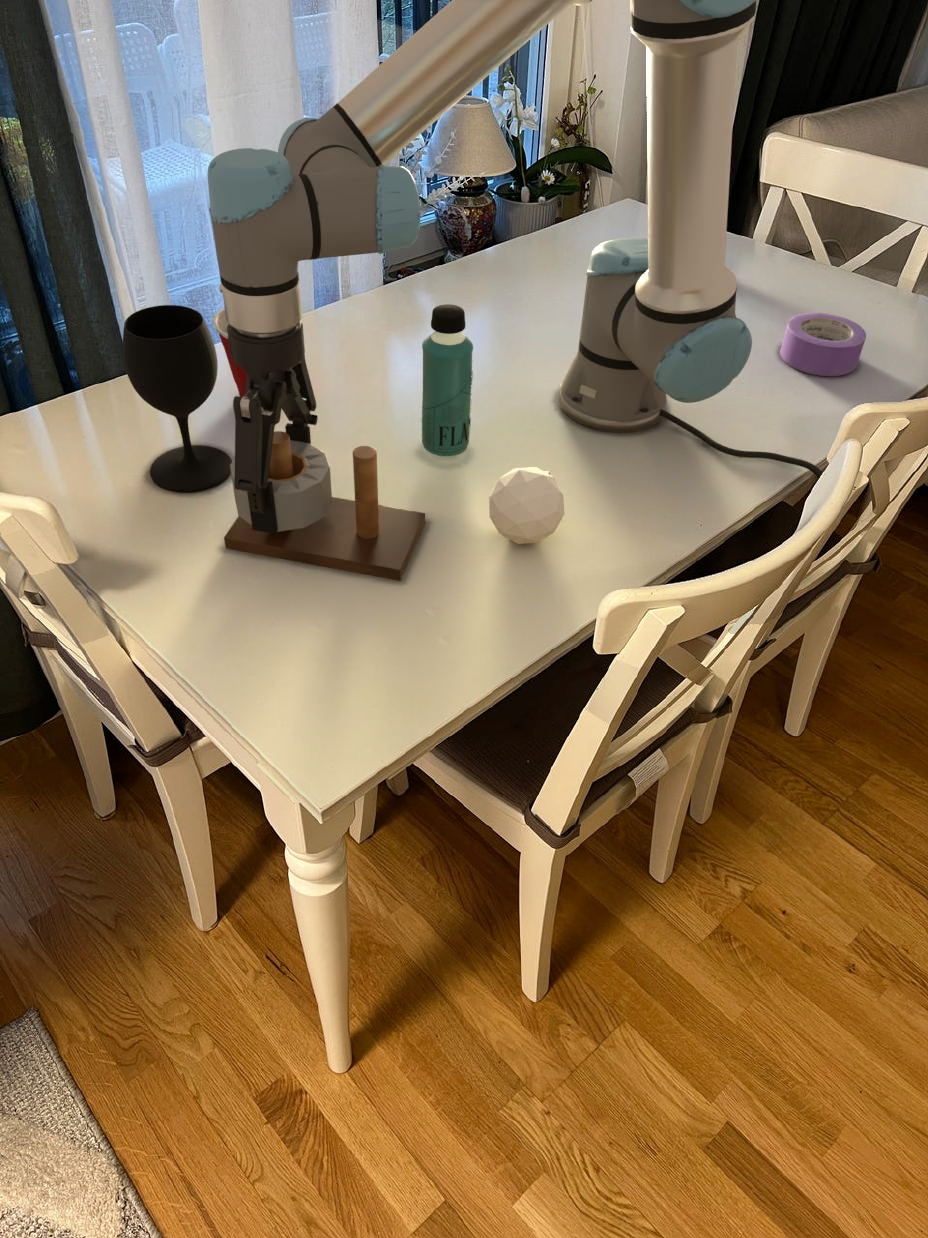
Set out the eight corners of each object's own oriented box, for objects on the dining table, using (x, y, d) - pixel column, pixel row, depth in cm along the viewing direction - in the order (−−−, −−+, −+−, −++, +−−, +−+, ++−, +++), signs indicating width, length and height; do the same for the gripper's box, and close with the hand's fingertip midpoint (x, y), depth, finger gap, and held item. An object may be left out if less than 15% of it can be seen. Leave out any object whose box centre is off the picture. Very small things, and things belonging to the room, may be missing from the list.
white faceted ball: (560, 557, 107) (581, 509, 116) (546, 484, 102) (570, 440, 112) (488, 560, 110) (515, 513, 119) (472, 489, 106) (501, 446, 115)
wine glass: (156, 447, 123) (124, 301, 109) (237, 446, 124) (215, 301, 110) (143, 494, 116) (107, 343, 102) (229, 492, 116) (205, 343, 103)
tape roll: (774, 366, 146) (783, 336, 143) (785, 335, 154) (793, 306, 151) (852, 383, 143) (863, 353, 140) (859, 350, 151) (869, 321, 148)
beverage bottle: (433, 471, 122) (436, 326, 108) (411, 445, 126) (411, 302, 112) (478, 460, 124) (486, 316, 110) (455, 435, 128) (460, 293, 114)
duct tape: (258, 469, 114) (253, 433, 110) (343, 484, 112) (341, 448, 109) (221, 521, 106) (215, 484, 103) (311, 538, 105) (308, 501, 101)
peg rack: (425, 523, 114) (426, 433, 105) (400, 580, 106) (399, 488, 97) (262, 494, 117) (250, 404, 108) (225, 548, 109) (209, 456, 100)
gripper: (272, 270, 103) (289, 442, 118) (177, 370, 86) (211, 556, 101) (338, 279, 102) (347, 452, 117) (254, 382, 85) (277, 568, 100)
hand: (284, 500), depth 109 cm, fingers closed on duct tape, 11 cm apart
